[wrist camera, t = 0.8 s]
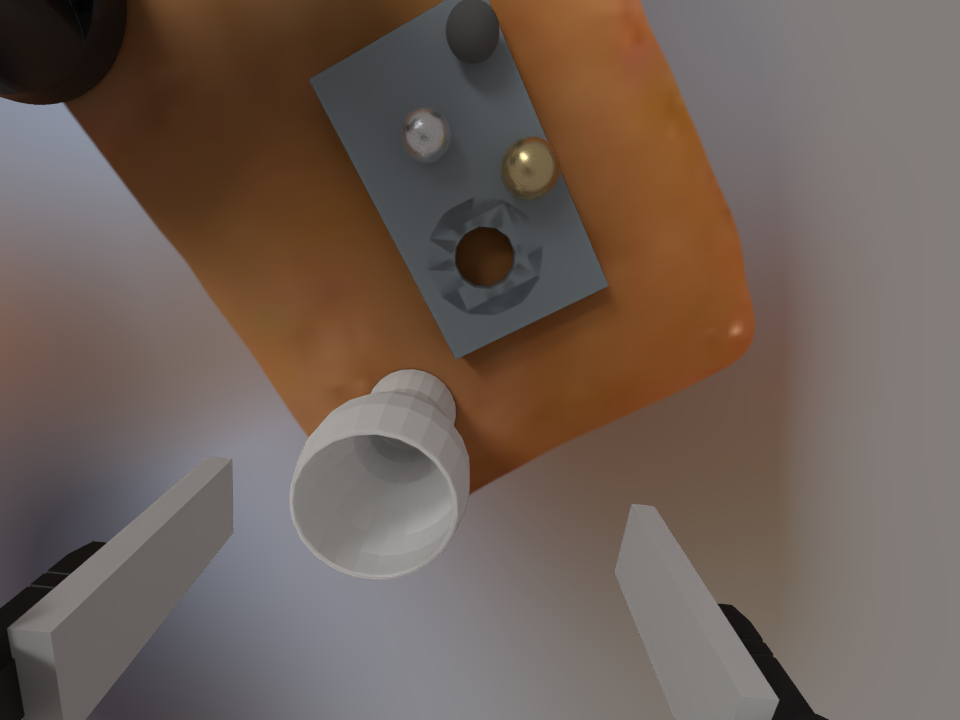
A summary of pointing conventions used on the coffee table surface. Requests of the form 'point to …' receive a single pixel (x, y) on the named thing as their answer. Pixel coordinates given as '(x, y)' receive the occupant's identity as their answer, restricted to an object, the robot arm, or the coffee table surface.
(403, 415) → the cup
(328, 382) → the coffee table surface
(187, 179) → the coffee table surface
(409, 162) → the plate
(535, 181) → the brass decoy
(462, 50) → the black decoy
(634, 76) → the coffee table surface
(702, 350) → the coffee table surface
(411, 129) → the steel ball
